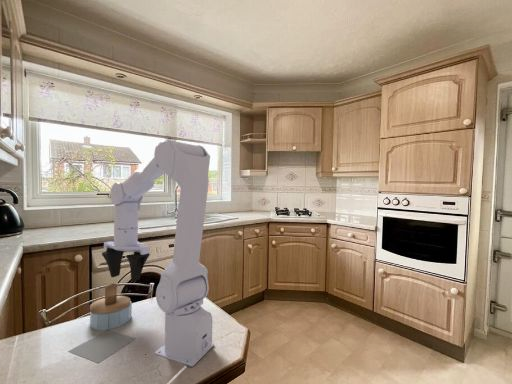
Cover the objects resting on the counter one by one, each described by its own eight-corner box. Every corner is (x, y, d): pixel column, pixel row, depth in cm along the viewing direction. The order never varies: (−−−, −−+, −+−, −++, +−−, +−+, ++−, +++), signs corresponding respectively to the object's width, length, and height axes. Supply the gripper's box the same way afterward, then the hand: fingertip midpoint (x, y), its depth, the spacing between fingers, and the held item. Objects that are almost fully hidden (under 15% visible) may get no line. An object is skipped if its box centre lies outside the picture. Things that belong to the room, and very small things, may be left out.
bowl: (138, 317, 68) (138, 301, 68) (107, 334, 59) (107, 316, 59) (114, 310, 71) (114, 296, 71) (81, 326, 63) (82, 309, 63)
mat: (136, 340, 57) (136, 338, 57) (98, 365, 49) (98, 363, 49) (108, 331, 61) (108, 329, 61) (68, 353, 52) (68, 351, 52)
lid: (138, 301, 68) (138, 282, 68) (108, 317, 59) (109, 294, 59) (112, 296, 71) (112, 278, 71) (80, 310, 62) (81, 289, 62)
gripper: (157, 227, 70) (157, 277, 70) (119, 224, 75) (119, 270, 75) (136, 231, 63) (136, 285, 63) (97, 227, 69) (96, 277, 69)
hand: (125, 278), depth 69 cm, fingers open, 7 cm apart
